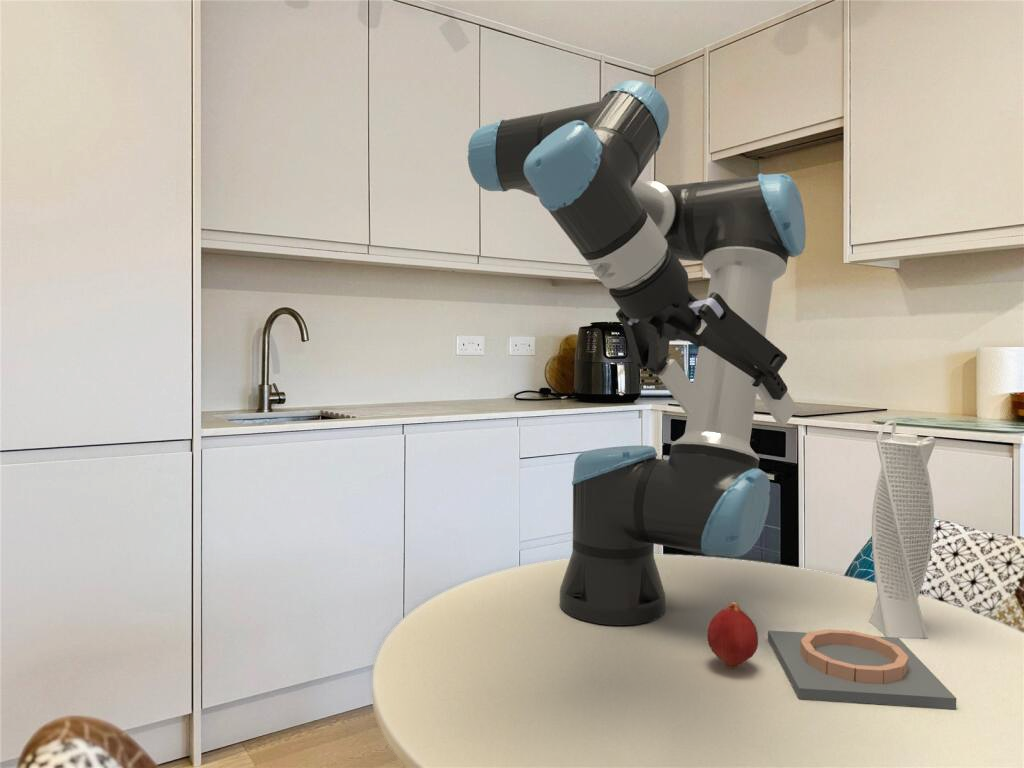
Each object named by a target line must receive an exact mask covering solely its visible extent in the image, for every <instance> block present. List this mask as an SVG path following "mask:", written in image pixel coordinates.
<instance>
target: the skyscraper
mask: <svg viewBox="0 0 1024 768" xmlns="http://www.w3.org/2000/svg"><path fill="white" fill-rule="evenodd" d="M890 425H891V426H892V427H891V432H890V433H891V434H890V438H885V439H883V440H881V439H882V435H883V433H884V430H885V428H886V427H887V426H890ZM896 430H897V422H896V421H895V420H893V419H890V420H888V421H885V423H884V424H882V426H881V427H880V429H879V431H878V433H877V437H876V441H875V443H876V447H877V451H878V457H879V461H880V465H881V466H880V469H879V470H880V471H879V474H878V478H877V482H876V485H875V491H874V496H873V497H874V498H873V504H872V513H871V514H872V515H871V547H872V560H873V568H874V570H873V571H874V576H875V577H874V578H875V584H876V589H877V596H876V598H875V601H874V605H873V608H872V611H871V614H870V617H869V619H868V622H869V623H870V624H872V625H873V626H874V627H875V628H877V630H879V632H881V633H882V634H883V635H884V636H885V637H896V638H899V639H907V638H908V639H925V640H927V639H928V638H929V637H928V633H927V629H926V626H925V621H924V618H923V616H922V615H923V614H922V611H921V607H920V603H919V597H920V593H921V591H922V588H923V585H924V582H925V578H926V574H927V570H928V566H929V563H930V557H931V553H932V548H933V539H934V533H935V532H934V531H935V530H934V528H935V509H934V508H935V507H934V497H933V491H932V490H933V489H932V485H931V479H930V474H929V470H928V469H929V468H928V463H929V461H930V458H931V455H932V453H933V449H934V448H935V445H936V438H935V437H934V436H927V437H924V438H923V439H922V440H918V435H917V434H913V433H911V434H910V433H896Z"/></svg>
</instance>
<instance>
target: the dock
mask: <svg viewBox="0 0 1024 768" xmlns="http://www.w3.org/2000/svg"><path fill="white" fill-rule="evenodd" d="M767 640H768V643H769V645H770V646H771V648H772V650H773V652H774V654H775V656H776V658H777V660H778V662H779V664H780V665H781V668H782V670H783V671H784V673H785V675H786V677H787V679H788V681H789V683H790V685H791V687H792V688H793V690H794V692H795V694H796V696H797V698H798V700H812V701H823V702H824V701H826V702H827V701H828V702H839V703H854V704H870V705H871V704H872V705H885V706H901V707H915V708H916V707H917V708H931V709H932V708H933V709H945V710H946V709H947V710H957V697H956V696H955V695H954V694H953V693H952V692H951V691H950V690H949V689H948V687H946V685H944V683H942V682H941V681H940V679H939V678H938V677H937V676H936V675H935V674H934V673H933V672H932V671H931V670H930V669H929V668H928V667H927V666H926V665H925V664H924V663H923V662H922V661H921V660H920V659H919V657H918V656H917V655H916V654H915V653H914V652H913V651H912V650H911V649H910V648H909V647H908V646H907V645H906V643H904V642H903V641H902V640H901V638H896V637H886V636H876V635H873V634H872V635H871V634H868V633H864V632H859V631H854V630H847V629H845V630H844V629H830V628H829V629H821V630H816V631H815V630H814V631H810V632H809V631H808V632H805V631H803V632H801V631H788V630H787V631H785V630H784V631H783V630H767Z"/></svg>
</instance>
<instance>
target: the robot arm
mask: <svg viewBox="0 0 1024 768" xmlns="http://www.w3.org/2000/svg"><path fill="white" fill-rule="evenodd" d="M669 122H670V112H669V106H668V105H667V102H666V100H665V98H664V96H663V95H662V94H661V93H660V91H659V90H658V89H657V88H656V87H654V86H653V85H651V84H649V83H647V82H644V81H642V80H636V79H629V80H624V81H622V82H618V83H617V84H616V85H615V86H613V87H612V88H611V89H610V90H608V91H606V93H605V94H604V96H602V98H601V100H599V101H595V102H590V103H586V104H580V105H576V106H571V107H566V108H562V109H556V110H552V111H547V112H543V113H537V114H531V115H525V116H522V117H521V116H520V117H514V118H510V119H500V120H498V121H497V122H493V123H490V124H485V125H482V126H481V127H478V128H477V129H476V130H475V131H474V132H473V133H472V135H471V137H470V139H469V143H468V147H467V149H468V150H467V153H468V154H467V163H468V168H469V171H470V174H471V176H472V179H473V180H474V181H475V183H476V184H478V186H479V187H480V188H482V189H483V190H485V191H488V192H500V191H501V192H503V193H504V192H507V191H509V190H519V191H522V192H524V193H526V194H529V195H532V196H534V197H538V199H539V202H540V204H541V206H543V207H544V208H545V210H547V211H548V212H549V214H550V215H551V216H552V217H553V219H554V220H555V222H556V223H557V225H558V226H559V227H560V228H561V229H562V231H563V232H564V233H565V235H567V237H568V239H570V241H571V243H572V244H573V245H574V246H575V247H576V249H577V250H578V252H579V254H580V255H581V256H582V257H583V258H584V260H586V262H587V264H588V265H589V267H590V268H591V269H592V271H593V273H594V276H595V278H596V277H597V278H598V279H599V281H600V282H601V283H602V285H603V286H604V287H605V288H607V289H609V295H610V296H611V298H612V299H613V300H614V302H615V303H616V304H617V306H618V307H619V309H618V310H617V311H616V313H615V316H616V318H617V319H618V321H619V322H620V323H621V325H622V327H623V330H624V332H625V338H626V339H627V343H628V346H629V350H630V353H631V357H632V360H633V363H634V366H635V367H636V368H637V369H639V370H640V371H641V370H642V371H643V370H644V368H645V369H647V370H648V371H649V372H650V373H651V374H653V375H656V377H658V379H659V381H661V383H662V384H663V386H664V387H665V388H666V389H667V390H668V392H669V393H670V394H671V396H672V397H673V399H675V401H676V402H677V404H678V405H679V407H680V408H681V409H682V410H683V412H684V413H685V414H687V416H686V417H687V418H686V423H685V430H684V433H683V435H682V436H680V437H679V438H678V439H676V440H675V441H673V442H672V443H671V446H670V451H669V456H668V459H663V458H662V459H661V458H657V457H658V453H657V450H656V448H655V447H654V446H652V445H651V446H650V445H623V446H610V447H602V448H595V449H591V450H586V451H583V452H581V453H579V454H578V456H576V457H575V461H574V465H573V474H572V475H573V476H572V477H573V478H572V480H571V485H572V551H571V552H572V553H571V555H570V558H569V561H568V564H567V566H566V569H565V572H564V576H563V578H562V582H561V584H560V589H559V607H560V608H561V609H562V611H564V613H566V614H568V615H569V616H571V617H573V618H576V619H578V620H581V621H584V622H589V623H594V624H599V625H609V626H632V625H639V624H644V623H650V622H652V621H654V620H657V619H659V618H660V617H662V616H663V615H664V613H665V611H666V592H665V588H664V586H663V582H662V579H661V576H660V572H659V570H658V569H659V568H658V566H657V563H656V558H655V555H654V554H655V553H654V552H655V551H654V548H655V545H659V546H664V547H670V548H675V549H679V550H683V551H684V550H685V551H689V552H690V551H691V552H696V553H700V554H704V555H706V556H709V557H711V556H719V557H721V556H722V557H726V558H727V557H728V558H739V557H742V556H745V555H746V554H748V553H749V551H751V550H752V548H753V547H754V545H755V544H756V543H757V541H758V540H759V538H760V536H761V533H762V531H763V530H764V527H765V523H766V520H767V517H768V513H769V508H770V501H771V496H770V491H771V482H770V479H769V476H768V474H767V473H766V472H765V471H763V470H762V469H760V468H759V465H760V457H759V456H758V455H757V453H756V452H755V451H754V450H753V449H752V447H751V444H750V442H751V435H752V429H753V428H752V427H753V421H754V414H755V409H756V402H757V401H756V400H757V396H758V397H759V398H760V400H761V402H762V403H763V404H764V406H765V407H766V410H768V413H769V414H770V415H771V416H772V418H773V419H774V420H775V422H776V423H777V425H778V426H781V427H785V426H786V425H787V423H788V422H789V420H790V419H791V417H792V416H793V415H794V413H795V411H797V409H798V406H797V404H796V403H795V401H794V399H793V398H792V397H791V394H790V393H789V392H788V386H787V384H786V383H785V381H784V380H783V378H782V377H781V375H780V373H779V372H780V371H781V368H782V367H783V366H784V364H785V363H786V362H787V359H788V356H787V355H786V353H784V352H783V351H782V350H781V349H780V348H778V347H777V346H776V345H775V344H774V343H772V341H770V340H769V339H767V338H766V332H767V325H768V319H769V313H770V305H771V299H772V298H771V297H772V293H773V292H772V290H773V284H774V282H775V281H776V280H778V279H780V278H781V277H783V275H785V273H786V272H787V267H788V261H789V257H791V258H796V257H798V256H800V255H801V254H803V253H804V249H805V246H806V235H807V234H806V232H807V231H806V218H805V212H804V211H805V210H804V205H803V201H802V197H801V194H800V190H799V187H798V185H797V184H796V182H795V180H794V179H793V178H792V177H791V176H790V175H788V174H786V173H771V174H763V173H758V174H757V175H751V176H744V177H737V178H735V177H734V178H727V179H718V180H708V181H701V182H698V181H697V182H690V183H683V184H681V183H680V184H671V185H670V184H665V185H664V184H663V183H660V182H658V181H656V180H655V181H654V180H645V181H643V180H640V179H639V177H640V176H641V174H642V173H643V171H644V170H645V169H646V167H647V165H648V164H649V162H650V160H651V159H652V158H653V156H654V155H655V154H656V153H657V151H658V150H659V149H660V148H659V147H660V146H661V143H662V140H663V138H664V135H665V133H666V131H667V130H668V126H669ZM680 260H681V261H689V262H691V261H692V262H695V261H696V262H697V261H698V262H699V261H700V262H702V267H703V268H704V269H705V271H706V272H707V273H708V274H709V275H710V279H709V283H708V290H707V296H706V299H701V300H699V299H698V298H697V297H695V295H693V294H692V293H691V292H690V290H689V275H688V272H687V270H686V268H685V267H684V266H683V264H682V263H681V261H680ZM701 327H702V328H701ZM700 330H701V332H700V333H699V334H698V332H699V331H700ZM677 340H680V341H684V342H689V343H691V344H692V345H693V346H694V347H697V348H698V351H697V357H696V362H695V363H696V364H695V369H694V375H693V381H691V380H690V379H689V377H688V376H687V374H686V373H685V372H684V370H683V368H682V367H681V366H680V364H678V362H677V360H676V359H675V358H674V359H673V358H670V356H671V355H672V353H670V352H669V348H670V342H672V341H673V342H674V341H677ZM668 358H670V359H668ZM667 360H668V361H667Z"/></svg>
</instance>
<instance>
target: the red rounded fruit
mask: <svg viewBox="0 0 1024 768" xmlns="http://www.w3.org/2000/svg"><path fill="white" fill-rule="evenodd" d="M706 637H707V644H708V646H709V648H710V649H711V652H712V653H713V654H714V655H715V656H716V657H717V658H718V660H720V661H721V662H722V663H724V664H725V666H726V667H728V668H729V669H736V668H738V667H739V666H741V665H742V664H743V663H745V662H746V661H748V660H749V659H750V658H752V657H753V656H754V655H755V653H757V649H758V646H759V635H758V629H757V627H756V625H755V623H754V621H753V620H752V619H751V617H750V616H748V615H747V613H746V612H744V611H743V610H741V609H740V607H739V604H738V602H735V601H732V602H730V604H729V605H727V607H726V608H724V609H721V610H720V611H718V612H717V613H716V614H715V615H714V616H713V618H711V620H710V622H709V624H708V627H707V636H706Z"/></svg>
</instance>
